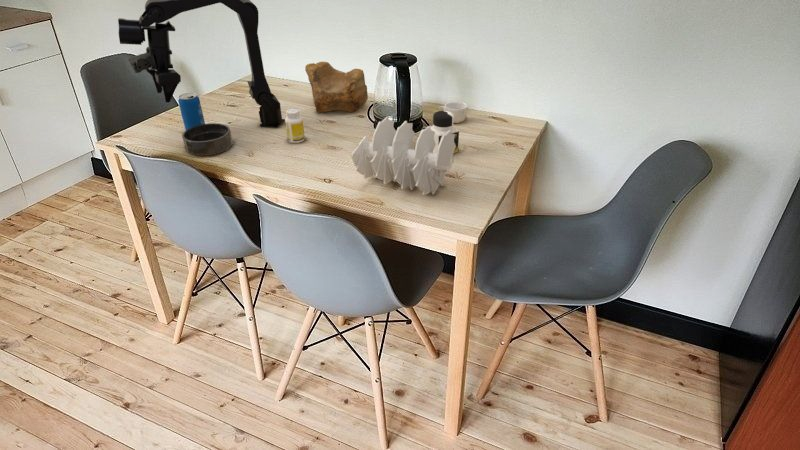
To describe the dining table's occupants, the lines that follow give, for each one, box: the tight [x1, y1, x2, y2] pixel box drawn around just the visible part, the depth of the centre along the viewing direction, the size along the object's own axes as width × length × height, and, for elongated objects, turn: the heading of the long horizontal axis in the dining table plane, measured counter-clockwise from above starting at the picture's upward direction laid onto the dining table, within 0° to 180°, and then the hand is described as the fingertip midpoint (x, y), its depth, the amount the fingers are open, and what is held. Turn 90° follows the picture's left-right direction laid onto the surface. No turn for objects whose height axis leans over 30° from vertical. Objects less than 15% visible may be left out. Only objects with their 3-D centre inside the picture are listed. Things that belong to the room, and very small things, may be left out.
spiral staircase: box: [350, 116, 456, 196], centre depth 141 cm, size 18×18×25 cm
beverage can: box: [177, 92, 206, 131], centre depth 175 cm, size 6×6×12 cm
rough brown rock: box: [304, 61, 369, 113], centre depth 189 cm, size 23×17×15 cm
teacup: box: [438, 101, 469, 124], centre depth 181 cm, size 10×8×5 cm
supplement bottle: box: [284, 108, 306, 144], centre depth 168 cm, size 5×5×10 cm
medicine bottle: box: [430, 110, 460, 154], centre depth 159 cm, size 7×7×12 cm
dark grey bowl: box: [181, 122, 234, 156], centre depth 166 cm, size 14×14×5 cm
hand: (163, 97), depth 164 cm, fingers open, 9 cm apart
